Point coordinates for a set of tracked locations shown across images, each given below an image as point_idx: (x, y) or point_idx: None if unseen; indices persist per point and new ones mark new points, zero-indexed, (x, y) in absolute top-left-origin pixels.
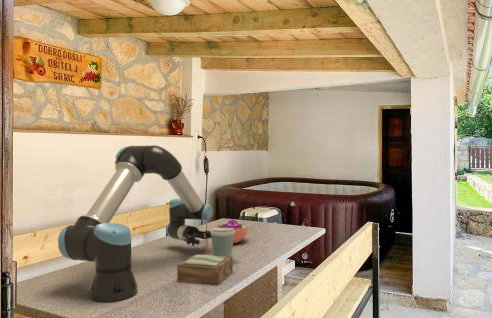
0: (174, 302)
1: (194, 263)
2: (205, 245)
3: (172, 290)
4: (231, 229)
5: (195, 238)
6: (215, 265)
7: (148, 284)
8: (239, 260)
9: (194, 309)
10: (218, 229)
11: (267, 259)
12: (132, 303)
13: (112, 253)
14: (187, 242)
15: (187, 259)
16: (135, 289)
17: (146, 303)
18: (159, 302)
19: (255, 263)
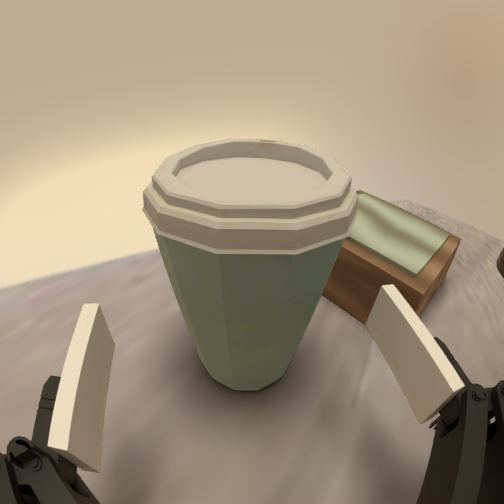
0: (430, 221)
1: (417, 219)
2: (368, 320)
3: None
4: (225, 140)
5: (458, 382)
6: (363, 193)
7: (497, 293)
8: (148, 340)
9: (400, 200)
10: (264, 195)
11: (75, 282)
12: (485, 244)
13: None
14: (491, 425)
15: (444, 259)
16: (500, 255)
17: (467, 236)
18: (451, 230)
19: (143, 278)
